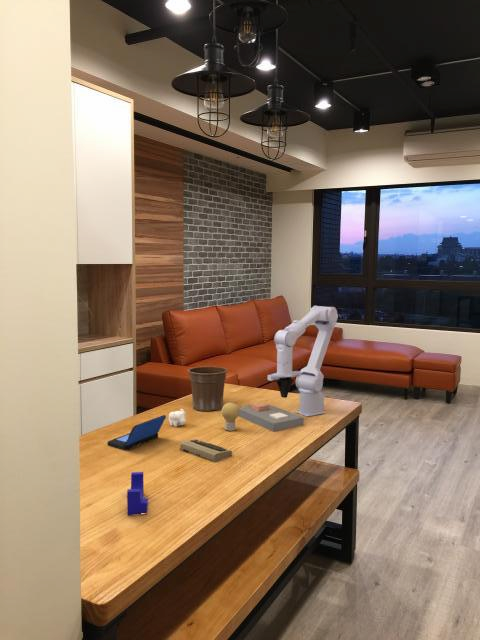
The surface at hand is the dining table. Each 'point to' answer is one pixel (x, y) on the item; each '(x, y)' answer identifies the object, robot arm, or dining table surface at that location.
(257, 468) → the dining table surface
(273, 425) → the key console
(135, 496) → the blue stepped block
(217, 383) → the plant pot
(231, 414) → the light bulb
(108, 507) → the dining table surface
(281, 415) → the white key
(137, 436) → the handheld game console
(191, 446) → the computer
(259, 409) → the terracotta key
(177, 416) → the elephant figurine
